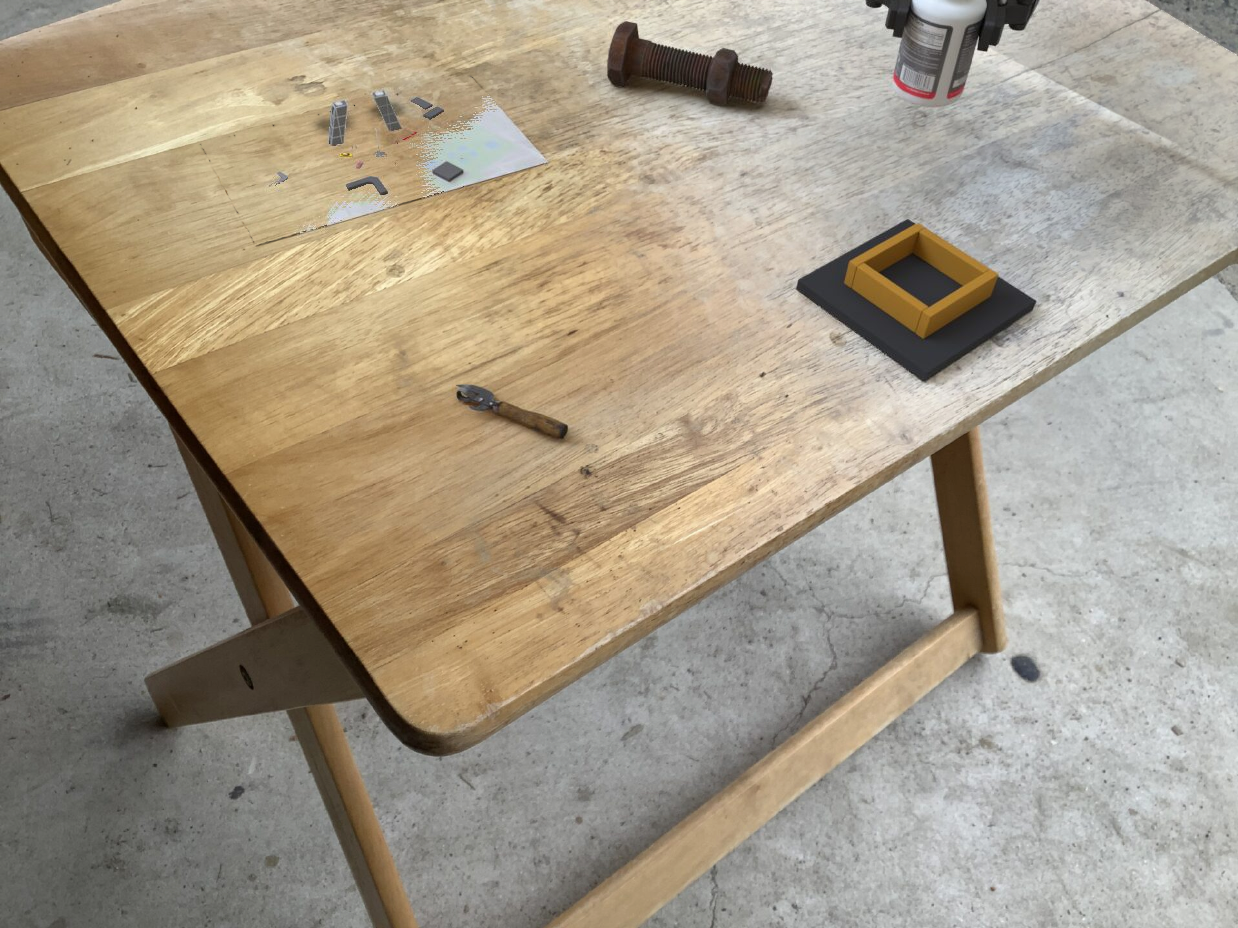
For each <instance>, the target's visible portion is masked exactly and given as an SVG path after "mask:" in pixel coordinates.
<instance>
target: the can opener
mask: <svg viewBox="0 0 1238 928" xmlns="http://www.w3.org/2000/svg"><path fill="white" fill-rule="evenodd" d="M455 387H459V389H458V390H457V391H456V395H455V397H456V399H457V400H458V401H460V402H465V403H466V402H467V403H468V402H473V403H476V404H478V406H474V405H472V404H471V403H470V404H468V408H469V409H471V410H473V411H476V412H477V411H478V412H481V411H483V412H484V411H486V410H488V409H491V410H492V411H493V413H494V414H496V415H498V416H499V417H501V418H505V419H508V420H510V421H513V422H516V423H520V424H522V425H524V426H526V427H528V428H530V429H532V430H533V431H537V432H539V433H542V434H545V435H548V436H551V437H554V438H557V439H562V440H563V439H565V437H566V436H567V434H568V430H569V426H568V424H566V423H564V422H562V421H560V420H558V419H556V418H553V417H550V416H548V415H544V414H542V413H538V412H534V411H532V410H531V411H530V410H528V409H524V408H521V407H519V406H516V405H514V404H512V403H509V402H506V401H501V400H496V401H495V395H494V393H493V392H492V391H490V390H489V389H486V388H485V387H482V386H479V385H476V384H466V383H465V384H455ZM476 394H477V395H476ZM464 395H465V396H464Z"/></svg>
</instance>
